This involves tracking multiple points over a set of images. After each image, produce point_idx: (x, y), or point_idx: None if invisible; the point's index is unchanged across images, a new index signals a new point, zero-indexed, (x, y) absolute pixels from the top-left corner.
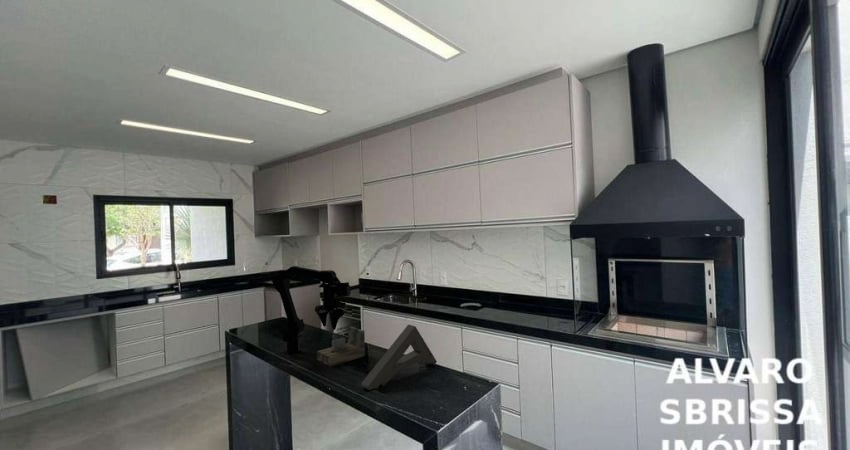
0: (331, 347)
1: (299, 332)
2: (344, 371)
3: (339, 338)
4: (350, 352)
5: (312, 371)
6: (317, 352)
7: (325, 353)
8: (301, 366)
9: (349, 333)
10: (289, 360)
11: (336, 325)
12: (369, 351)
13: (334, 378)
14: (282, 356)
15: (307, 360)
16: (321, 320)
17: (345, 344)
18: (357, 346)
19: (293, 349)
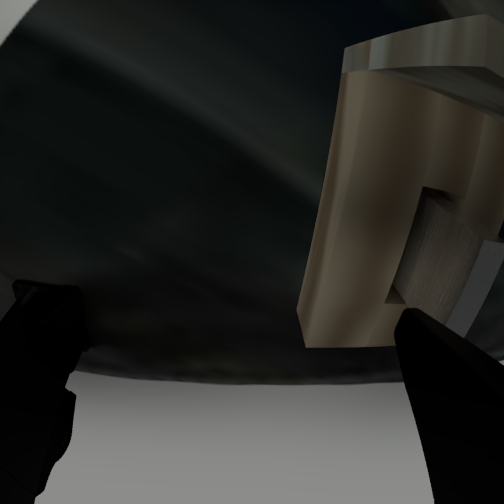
0: (335, 247)
1: (55, 417)
2: (495, 298)
3: (468, 281)
4: (499, 221)
5: (386, 373)
6: (305, 341)
7: (387, 335)
8: (299, 382)
9: (456, 79)
10: (175, 380)
11: (466, 343)
12: (461, 17)
13: (486, 345)
14: (96, 368)
15: (251, 340)
16: (50, 429)
17: (475, 219)
18: (493, 117)
19: (83, 348)
